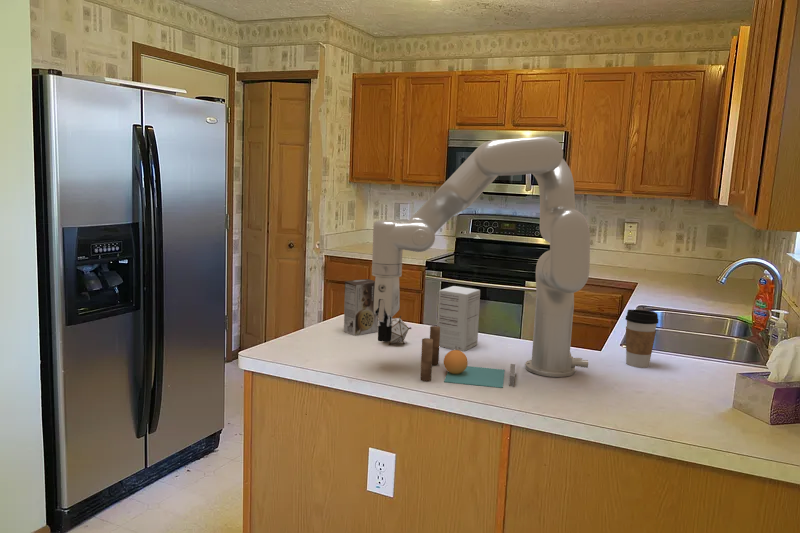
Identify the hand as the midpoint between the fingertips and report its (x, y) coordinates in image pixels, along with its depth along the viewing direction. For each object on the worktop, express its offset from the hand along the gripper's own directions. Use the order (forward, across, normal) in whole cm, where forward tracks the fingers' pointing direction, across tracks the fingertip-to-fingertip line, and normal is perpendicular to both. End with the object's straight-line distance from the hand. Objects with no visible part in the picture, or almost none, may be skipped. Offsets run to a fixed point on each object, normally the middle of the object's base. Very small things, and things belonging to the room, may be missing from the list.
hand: (384, 340), depth 156 cm
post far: (+7, +6, -12) cm, 15 cm away
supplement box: (+7, +27, -16) cm, 32 cm away
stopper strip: (+7, 0, -32) cm, 33 cm away
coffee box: (+7, +33, +15) cm, 37 cm away
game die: (+7, +23, +2) cm, 24 cm away
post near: (+7, -7, -12) cm, 15 cm away
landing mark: (+7, 0, -24) cm, 25 cm away
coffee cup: (+7, +24, -66) cm, 71 cm away
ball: (+4, 0, -18) cm, 19 cm away
